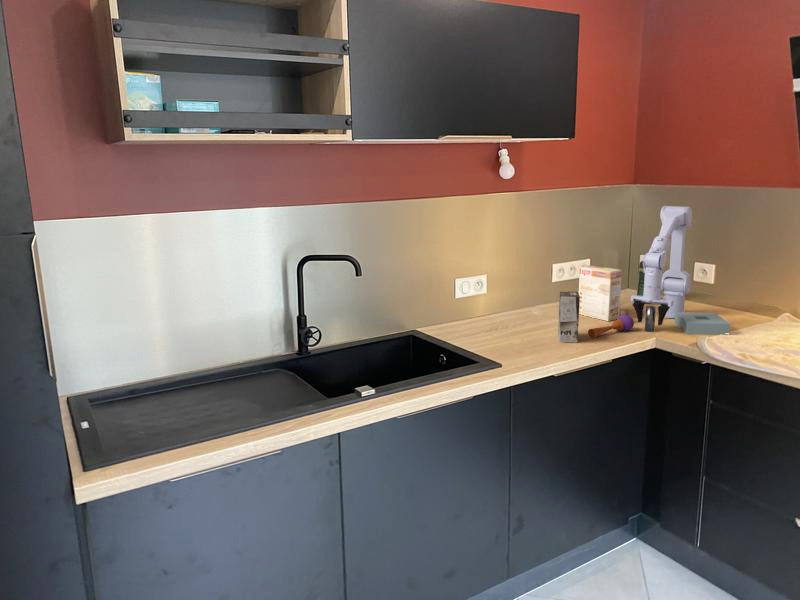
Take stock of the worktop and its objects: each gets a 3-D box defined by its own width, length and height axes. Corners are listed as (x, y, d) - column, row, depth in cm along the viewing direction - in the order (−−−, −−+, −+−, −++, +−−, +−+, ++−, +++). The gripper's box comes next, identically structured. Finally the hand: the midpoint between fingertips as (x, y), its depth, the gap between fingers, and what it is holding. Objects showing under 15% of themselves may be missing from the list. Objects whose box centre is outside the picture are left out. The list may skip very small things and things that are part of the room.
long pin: (643, 329, 228) (645, 305, 226) (653, 329, 228) (654, 305, 226) (645, 332, 225) (647, 307, 223) (655, 332, 225) (656, 307, 223)
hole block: (674, 322, 237) (675, 312, 236) (714, 323, 235) (715, 313, 234) (686, 333, 222) (687, 323, 221) (729, 334, 220) (730, 323, 219)
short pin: (618, 321, 240) (619, 309, 239) (626, 321, 239) (627, 309, 238) (619, 323, 237) (620, 311, 236) (628, 324, 236) (629, 311, 235)
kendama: (583, 325, 222) (623, 313, 231) (586, 341, 222) (625, 328, 232) (596, 325, 216) (636, 313, 226) (599, 342, 217) (638, 329, 226)
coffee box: (578, 342, 213) (580, 296, 210) (558, 342, 215) (560, 296, 211) (576, 335, 222) (578, 291, 219) (557, 335, 223) (559, 290, 220)
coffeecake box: (619, 319, 244) (622, 269, 240) (607, 321, 240) (610, 271, 236) (588, 311, 256) (591, 264, 252) (576, 314, 252) (579, 266, 248)
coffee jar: (649, 305, 265) (652, 261, 261) (633, 302, 272) (635, 259, 268) (663, 302, 271) (666, 259, 266) (646, 299, 277) (649, 257, 273)
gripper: (627, 285, 225) (625, 321, 228) (668, 290, 215) (665, 328, 218) (636, 282, 230) (633, 318, 233) (676, 287, 220) (673, 324, 223)
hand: (649, 323), depth 226 cm, fingers open, 7 cm apart
